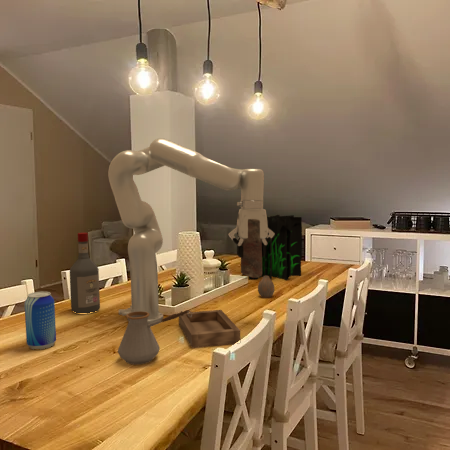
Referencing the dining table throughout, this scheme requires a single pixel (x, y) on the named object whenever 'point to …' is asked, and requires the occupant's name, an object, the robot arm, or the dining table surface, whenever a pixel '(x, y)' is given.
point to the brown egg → (266, 287)
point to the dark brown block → (252, 251)
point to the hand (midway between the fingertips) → (251, 256)
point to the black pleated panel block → (283, 248)
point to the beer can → (40, 320)
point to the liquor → (84, 280)
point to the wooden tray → (209, 328)
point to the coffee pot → (141, 338)
